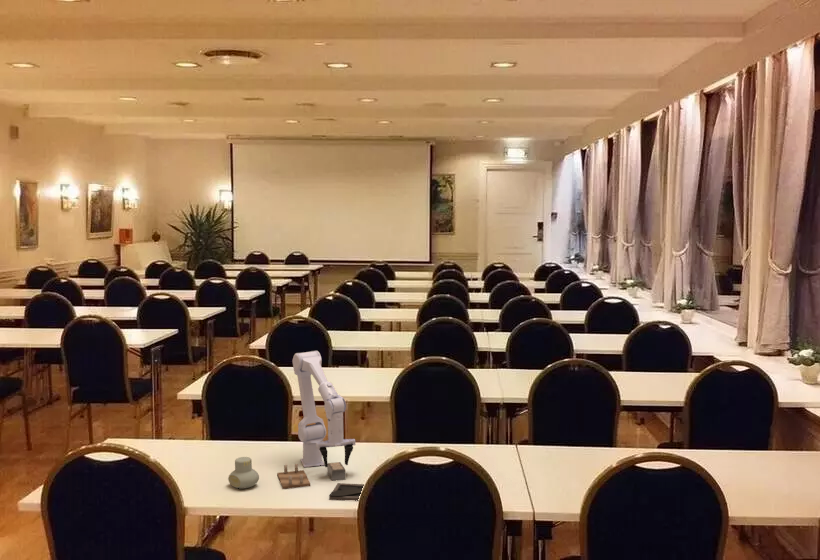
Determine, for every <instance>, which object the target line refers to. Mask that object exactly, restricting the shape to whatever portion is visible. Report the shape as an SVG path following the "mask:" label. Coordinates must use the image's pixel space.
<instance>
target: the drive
mask: <svg viewBox="0 0 820 560" xmlns="http://www.w3.org/2000/svg"><path fill="white" fill-rule="evenodd" d="M327 463H328V467H326V473H327V475H328V477H329V476H330V477H329V479H330V480H331V481H332V482H335V481H336V480H337V481H343V480H344V481H345V480H346V469H345V466H343V464H342V462H341V461H339V462H327ZM337 481H336V482H337Z"/></svg>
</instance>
